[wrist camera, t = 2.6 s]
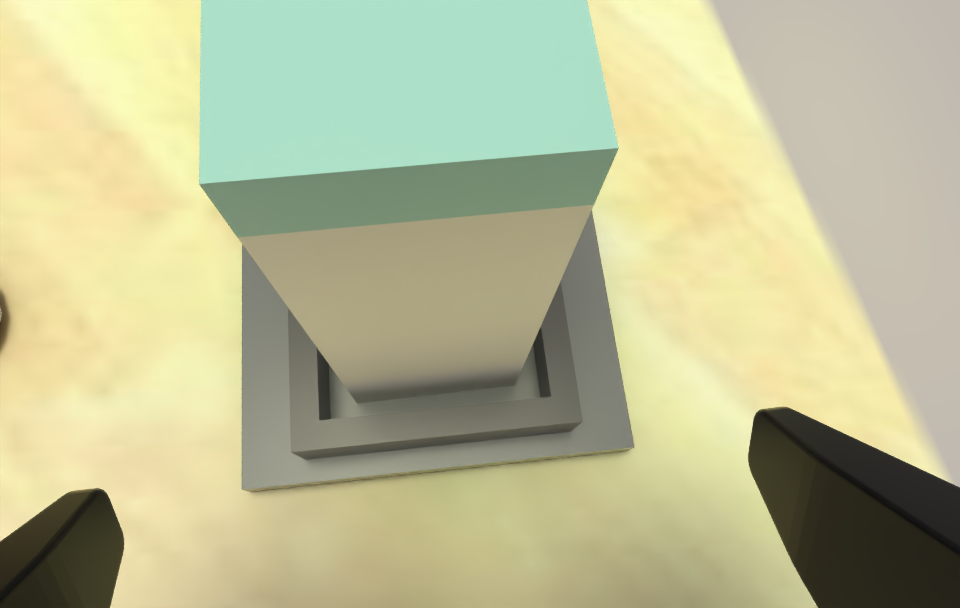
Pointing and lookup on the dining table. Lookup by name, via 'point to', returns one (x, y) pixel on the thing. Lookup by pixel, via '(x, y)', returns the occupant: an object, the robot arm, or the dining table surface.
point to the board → (429, 396)
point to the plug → (407, 173)
